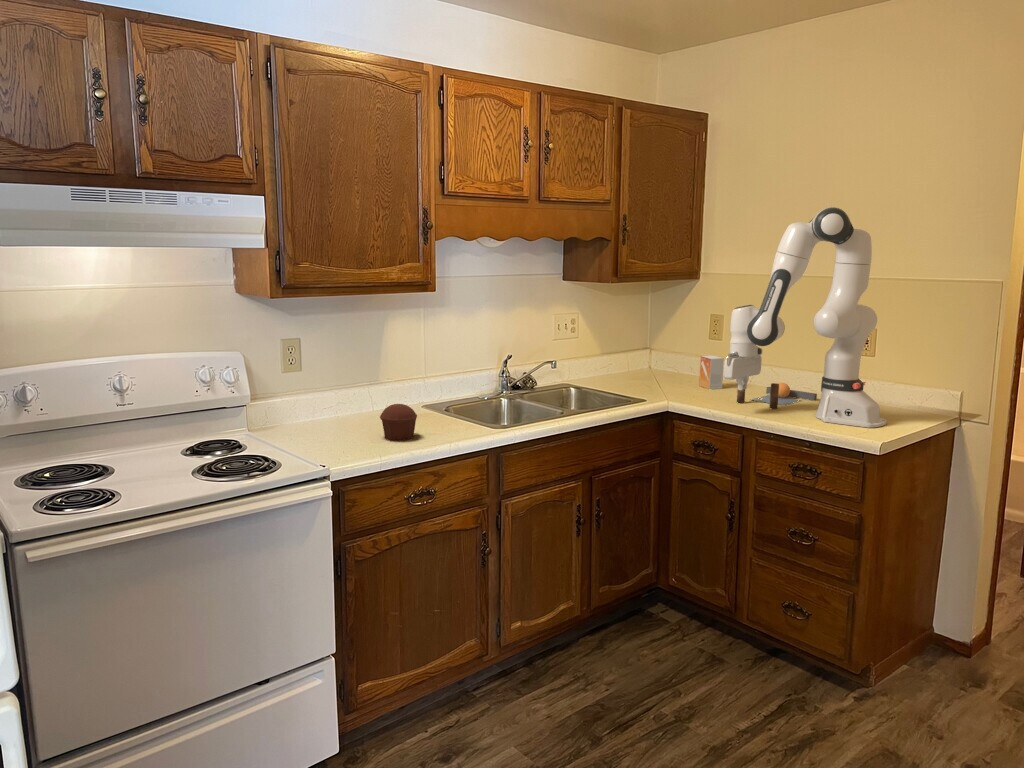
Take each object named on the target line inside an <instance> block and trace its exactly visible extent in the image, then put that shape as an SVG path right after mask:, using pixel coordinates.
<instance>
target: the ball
mask: <svg viewBox="0 0 1024 768" xmlns="http://www.w3.org/2000/svg"><path fill="white" fill-rule="evenodd" d="M777 384H779V394H778V397H779V398H788V397H787V396H788V395H789V393H790V390H791V388H790V386H789V385H788V384H787V383H785V382H779V383H777Z"/></svg>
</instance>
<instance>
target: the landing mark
mask: <svg viewBox="0 0 1024 768" xmlns="http://www.w3.org/2000/svg"><path fill="white" fill-rule="evenodd" d="M760 397H761V398H763V399H762V400H760V399H761V398H759V397H754V398H751V399H752V400H754V401H753V402H758V401H760V402H759V403H764V402H766V403H765V404H770V394H768V395H763V396H760ZM758 398H759V399H758ZM751 399H749V401H752V400H751ZM798 400H799V402H802V401H803V399H797V398H791V397H785V398H779V397H778V406H782V405H785V406H787V404H788V405H791V403H792V404H794V403H793V402H796V403H798V402H797V401H798Z"/></svg>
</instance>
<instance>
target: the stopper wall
mask: <svg viewBox="0 0 1024 768" xmlns="http://www.w3.org/2000/svg"><path fill="white" fill-rule="evenodd" d="M770 392H771V386H766V391H765V393H766V394H768V393H770ZM793 397H796V398H795V399H800V398H802V399H801V400H806V399H809V400H808V401H813V400H815V401H817V398H818V393H817V392H816V393H814V392H808V391H801V390H794V389H790V393H789V395H788V397H787V398H793Z"/></svg>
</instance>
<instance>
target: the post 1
mask: <svg viewBox="0 0 1024 768" xmlns="http://www.w3.org/2000/svg"><path fill="white" fill-rule="evenodd" d="M736 393H737V394H736V403H737V402H738V403H737V404H745V401H746V399H745V398H746V389H744V390H738V389H737V392H736Z"/></svg>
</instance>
